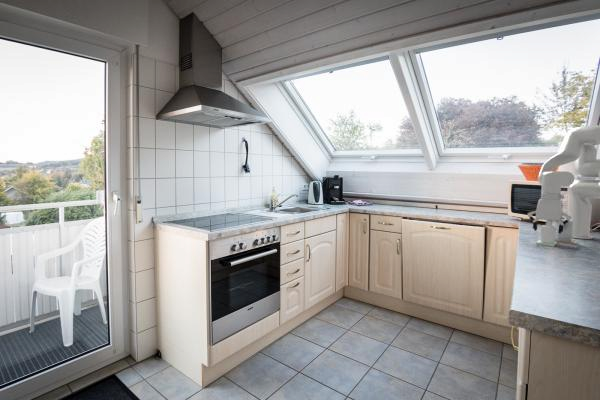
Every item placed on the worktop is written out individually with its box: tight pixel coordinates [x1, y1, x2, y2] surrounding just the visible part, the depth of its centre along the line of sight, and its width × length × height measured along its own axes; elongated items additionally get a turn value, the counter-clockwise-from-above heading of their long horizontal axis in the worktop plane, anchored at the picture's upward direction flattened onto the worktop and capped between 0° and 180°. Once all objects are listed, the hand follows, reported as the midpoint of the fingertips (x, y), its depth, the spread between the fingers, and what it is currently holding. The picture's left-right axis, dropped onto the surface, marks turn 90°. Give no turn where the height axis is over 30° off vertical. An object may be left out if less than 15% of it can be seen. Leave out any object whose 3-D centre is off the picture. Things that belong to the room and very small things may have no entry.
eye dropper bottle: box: [539, 220, 556, 243], centre depth 160 cm, size 4×6×12 cm
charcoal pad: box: [556, 243, 578, 250], centre depth 155 cm, size 7×7×1 cm
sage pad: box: [536, 239, 557, 247], centre depth 161 cm, size 7×7×1 cm
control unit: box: [552, 218, 577, 245], centre depth 165 cm, size 7×12×12 cm, turn 45°
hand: (547, 231), depth 160 cm, fingers open, 9 cm apart
